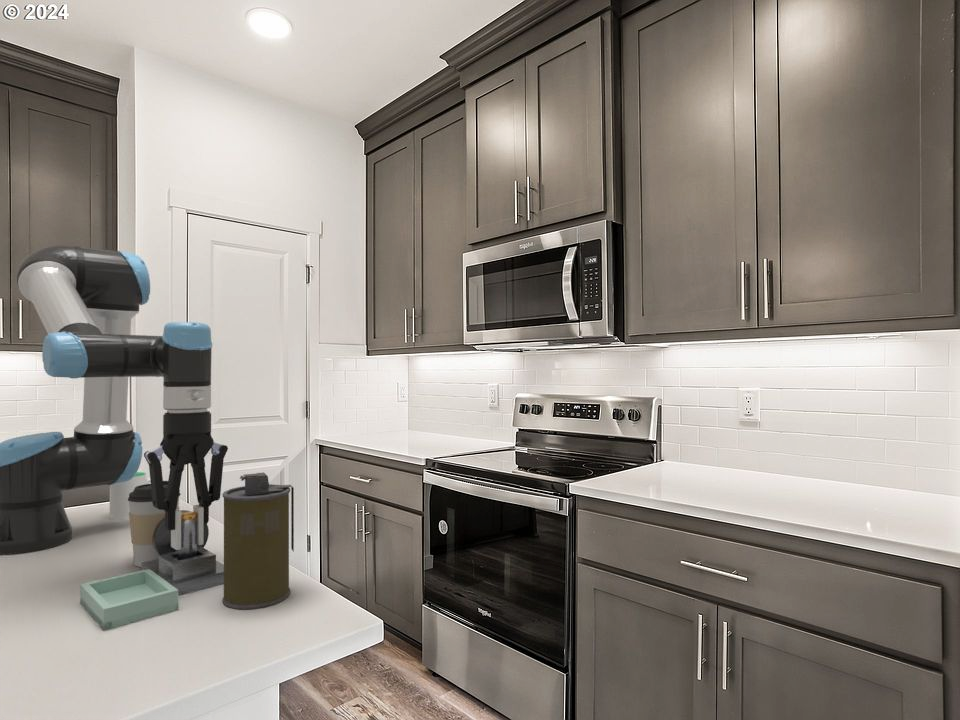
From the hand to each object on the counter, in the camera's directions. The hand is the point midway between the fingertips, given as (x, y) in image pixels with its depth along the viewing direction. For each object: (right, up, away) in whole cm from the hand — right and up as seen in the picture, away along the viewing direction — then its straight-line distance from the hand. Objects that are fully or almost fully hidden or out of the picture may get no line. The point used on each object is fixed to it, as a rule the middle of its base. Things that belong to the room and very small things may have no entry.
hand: (187, 545), depth 102 cm
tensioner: (-2, -7, +3) cm, 8 cm away
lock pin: (0, -5, 0) cm, 5 cm away
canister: (+15, -7, -6) cm, 17 cm away
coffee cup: (-12, -7, +12) cm, 19 cm away
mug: (-38, -8, +49) cm, 62 cm away
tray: (-4, -7, -10) cm, 13 cm away
